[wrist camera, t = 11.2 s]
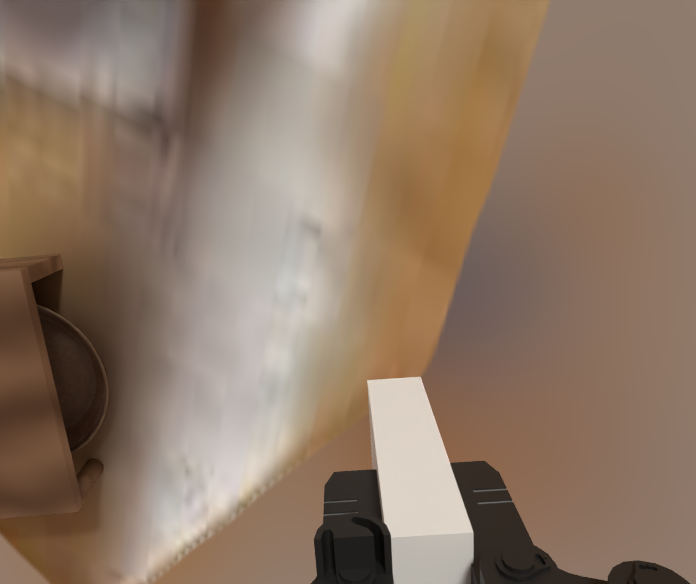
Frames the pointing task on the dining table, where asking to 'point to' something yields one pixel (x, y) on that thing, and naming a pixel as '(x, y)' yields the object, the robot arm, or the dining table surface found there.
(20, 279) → the overhang shelf
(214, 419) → the dining table surface
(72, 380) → the saucer
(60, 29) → the dining table surface
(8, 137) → the dining table surface
